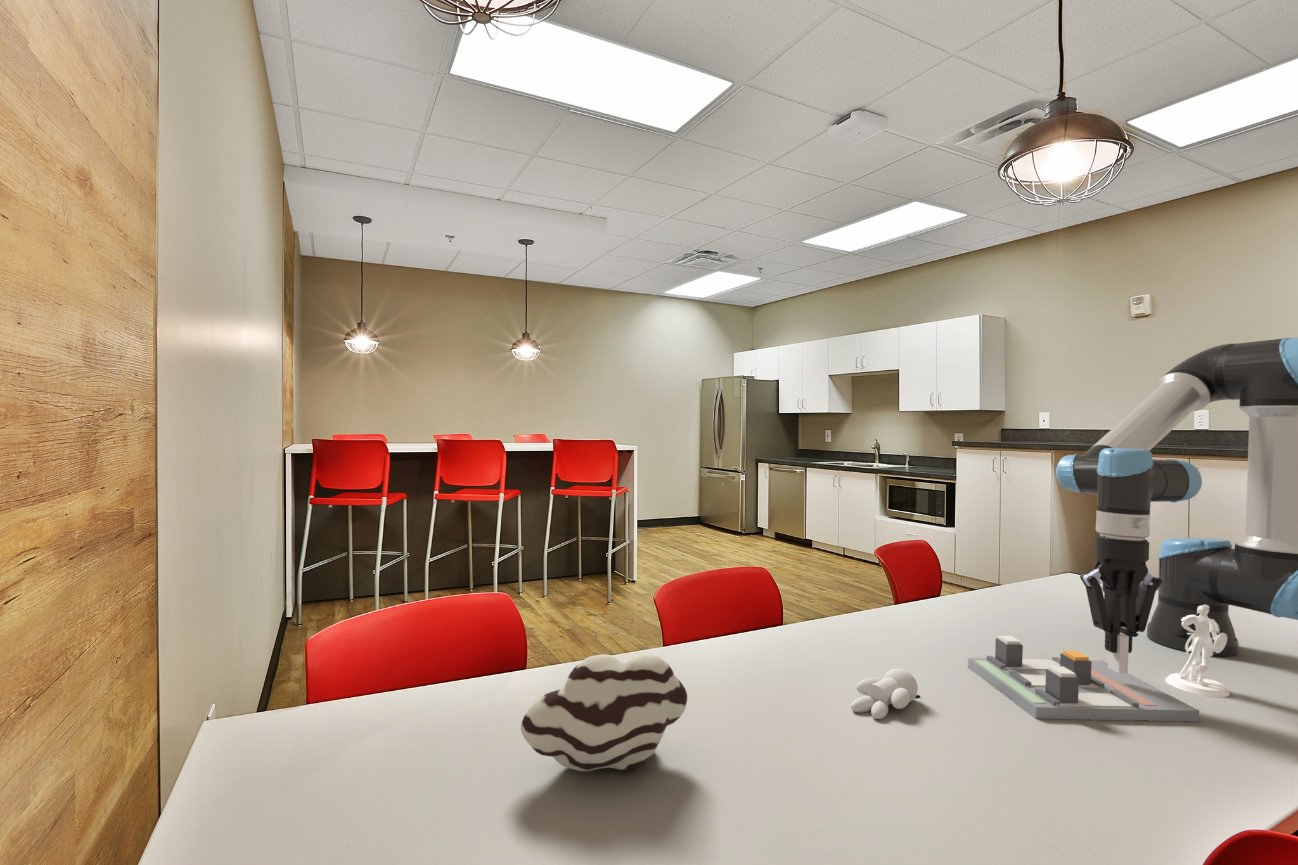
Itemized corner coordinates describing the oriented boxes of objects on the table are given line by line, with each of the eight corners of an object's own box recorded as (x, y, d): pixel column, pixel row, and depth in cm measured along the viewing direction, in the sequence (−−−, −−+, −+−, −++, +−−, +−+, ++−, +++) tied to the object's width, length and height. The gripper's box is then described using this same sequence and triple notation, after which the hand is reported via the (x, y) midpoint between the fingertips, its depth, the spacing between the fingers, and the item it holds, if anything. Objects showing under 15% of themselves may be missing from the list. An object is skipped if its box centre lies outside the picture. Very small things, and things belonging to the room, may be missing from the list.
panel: (1102, 669, 121) (1103, 656, 121) (1198, 721, 100) (1199, 706, 100) (967, 667, 120) (968, 654, 120) (1035, 718, 99) (1036, 702, 99)
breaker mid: (1076, 676, 112) (1077, 650, 112) (1090, 684, 108) (1091, 657, 108) (1059, 675, 112) (1060, 650, 112) (1073, 684, 108) (1074, 657, 108)
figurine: (1242, 694, 111) (1245, 609, 111) (1208, 699, 108) (1211, 613, 108) (1186, 674, 119) (1188, 596, 119) (1153, 679, 116) (1156, 599, 116)
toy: (884, 732, 96) (936, 703, 105) (884, 696, 95) (936, 670, 104) (838, 711, 102) (890, 686, 111) (838, 677, 102) (891, 655, 111)
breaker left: (1010, 659, 119) (1011, 635, 119) (1022, 666, 116) (1022, 641, 116) (995, 659, 119) (995, 635, 119) (1005, 666, 116) (1006, 641, 116)
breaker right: (1063, 693, 104) (1064, 665, 104) (1078, 702, 101) (1079, 674, 101) (1045, 692, 104) (1046, 665, 104) (1059, 702, 101) (1060, 674, 101)
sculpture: (673, 736, 91) (675, 633, 91) (704, 783, 79) (707, 666, 79) (516, 755, 85) (518, 646, 85) (524, 810, 73) (526, 683, 73)
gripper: (1100, 539, 106) (1095, 678, 106) (1177, 541, 106) (1172, 679, 106) (1070, 531, 113) (1066, 661, 114) (1142, 533, 113) (1137, 663, 114)
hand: (1117, 670), depth 110 cm, fingers closed
